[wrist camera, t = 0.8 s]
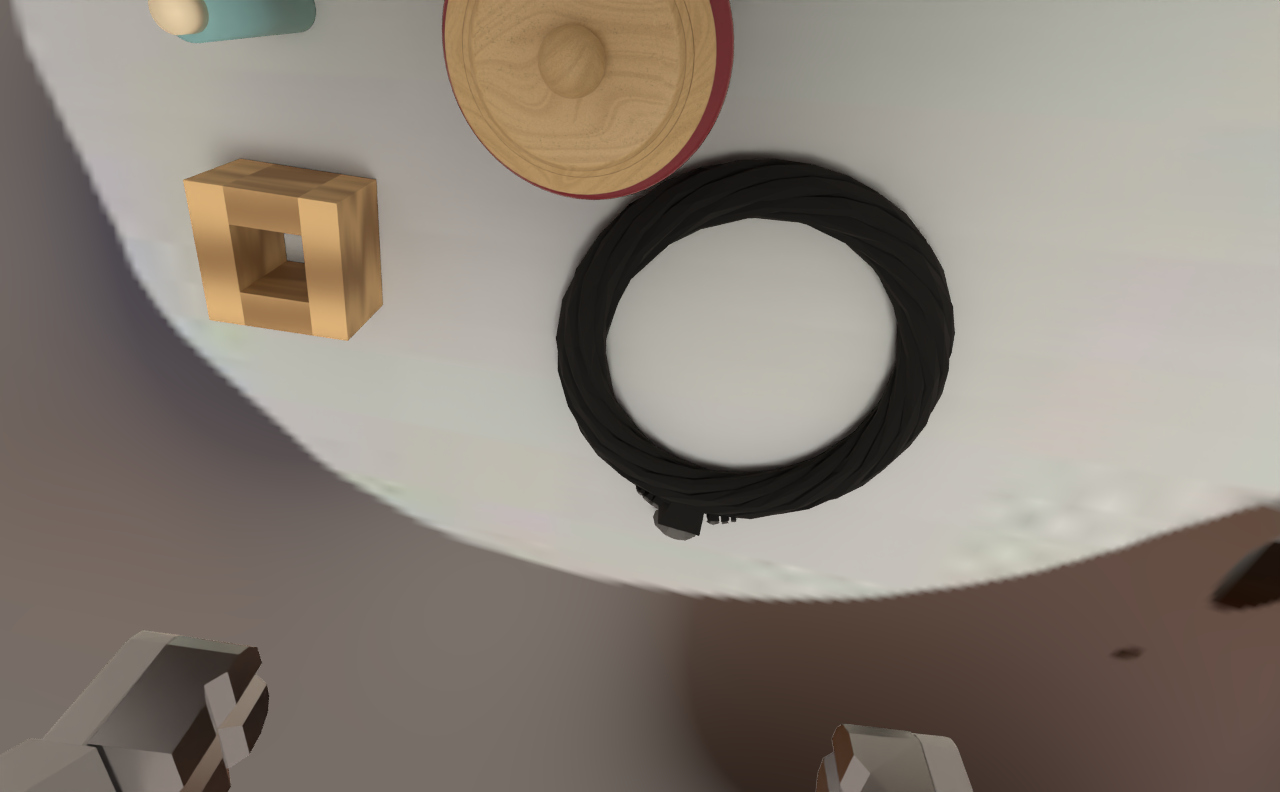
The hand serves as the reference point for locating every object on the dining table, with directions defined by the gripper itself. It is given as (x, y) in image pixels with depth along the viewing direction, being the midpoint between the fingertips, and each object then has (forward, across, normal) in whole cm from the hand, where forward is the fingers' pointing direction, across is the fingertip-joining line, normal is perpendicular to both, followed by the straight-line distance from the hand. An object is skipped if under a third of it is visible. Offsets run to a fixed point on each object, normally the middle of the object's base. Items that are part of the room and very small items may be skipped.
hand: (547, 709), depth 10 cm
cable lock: (+40, -8, +14) cm, 44 cm away
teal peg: (+40, +22, -5) cm, 46 cm away
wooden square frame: (+40, +23, +9) cm, 47 cm away
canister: (+40, +4, -6) cm, 41 cm away
